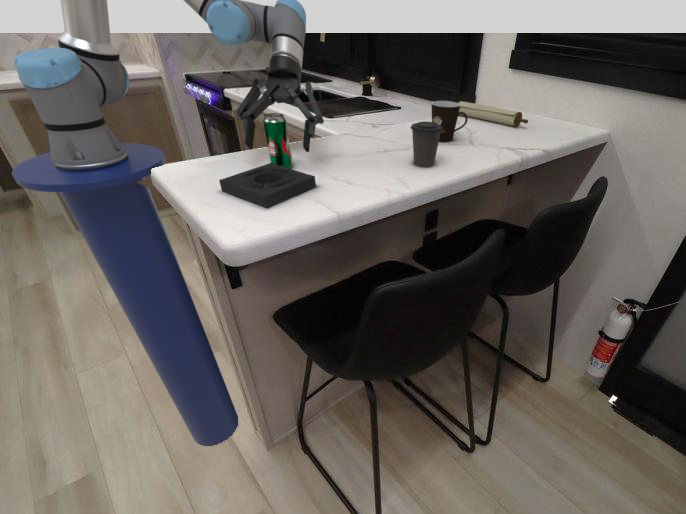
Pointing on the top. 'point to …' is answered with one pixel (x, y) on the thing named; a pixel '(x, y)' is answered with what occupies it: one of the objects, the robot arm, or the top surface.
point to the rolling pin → (492, 113)
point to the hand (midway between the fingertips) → (277, 147)
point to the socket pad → (268, 184)
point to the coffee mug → (446, 118)
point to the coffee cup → (425, 143)
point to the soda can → (277, 139)
